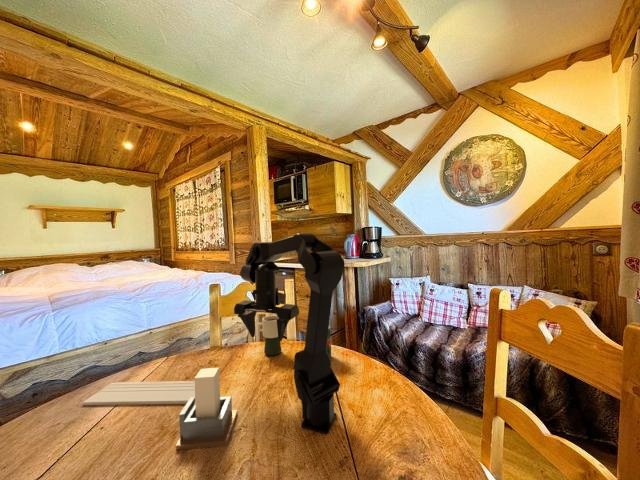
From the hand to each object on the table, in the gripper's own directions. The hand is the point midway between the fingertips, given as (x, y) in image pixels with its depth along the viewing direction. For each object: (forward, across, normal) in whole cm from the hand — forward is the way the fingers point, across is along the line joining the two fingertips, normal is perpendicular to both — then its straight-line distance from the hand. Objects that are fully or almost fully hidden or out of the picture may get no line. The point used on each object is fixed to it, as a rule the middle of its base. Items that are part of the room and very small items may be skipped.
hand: (266, 338), depth 78 cm
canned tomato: (+13, -9, -20) cm, 26 cm away
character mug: (+14, +9, -18) cm, 25 cm away
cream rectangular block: (+12, +2, +21) cm, 24 cm away
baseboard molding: (+14, +28, +14) cm, 34 cm away
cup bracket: (+13, +2, +21) cm, 25 cm away
